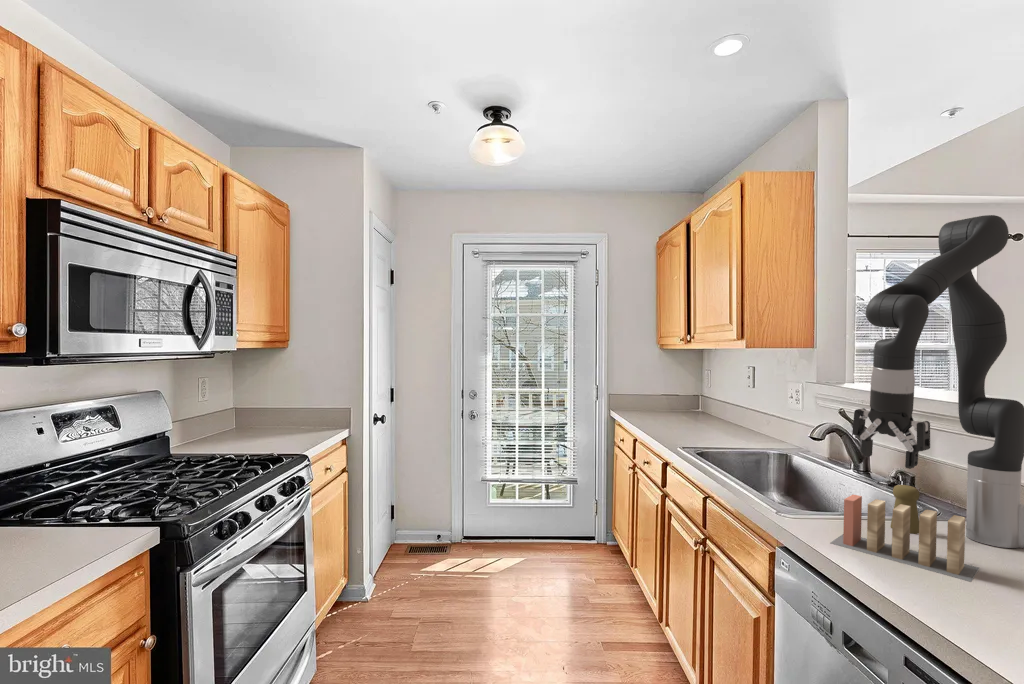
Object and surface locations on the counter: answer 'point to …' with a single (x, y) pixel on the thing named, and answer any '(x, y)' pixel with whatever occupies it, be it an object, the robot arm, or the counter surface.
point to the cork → (908, 504)
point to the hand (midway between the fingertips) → (887, 461)
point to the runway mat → (911, 559)
